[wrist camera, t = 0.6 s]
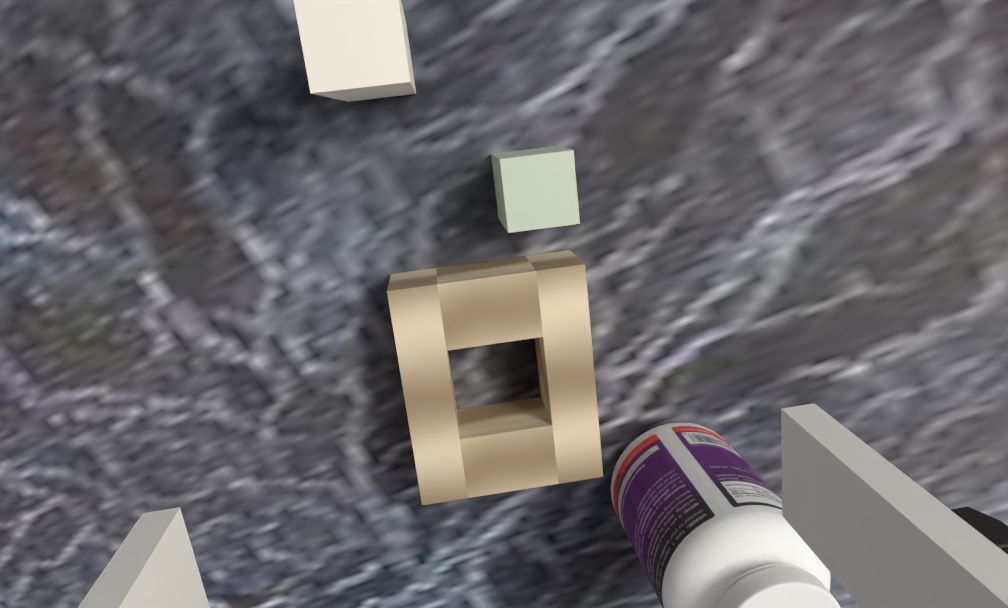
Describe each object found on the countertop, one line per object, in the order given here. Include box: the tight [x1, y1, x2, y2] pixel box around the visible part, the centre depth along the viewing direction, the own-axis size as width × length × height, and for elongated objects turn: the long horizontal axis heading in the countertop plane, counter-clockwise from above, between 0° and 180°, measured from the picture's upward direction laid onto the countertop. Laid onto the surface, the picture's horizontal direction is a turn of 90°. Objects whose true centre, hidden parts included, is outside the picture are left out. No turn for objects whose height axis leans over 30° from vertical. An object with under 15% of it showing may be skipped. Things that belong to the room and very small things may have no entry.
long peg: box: [294, 0, 416, 102], centre depth 30 cm, size 4×4×12 cm
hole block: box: [387, 250, 603, 505], centre depth 39 cm, size 12×10×4 cm
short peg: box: [491, 146, 580, 233], centre depth 36 cm, size 4×4×5 cm
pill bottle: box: [611, 422, 840, 608], centre depth 37 cm, size 8×8×14 cm
